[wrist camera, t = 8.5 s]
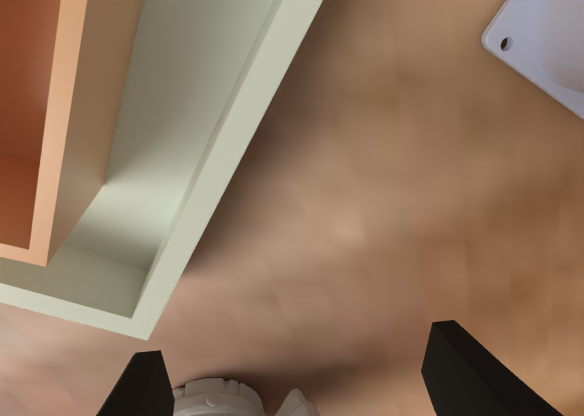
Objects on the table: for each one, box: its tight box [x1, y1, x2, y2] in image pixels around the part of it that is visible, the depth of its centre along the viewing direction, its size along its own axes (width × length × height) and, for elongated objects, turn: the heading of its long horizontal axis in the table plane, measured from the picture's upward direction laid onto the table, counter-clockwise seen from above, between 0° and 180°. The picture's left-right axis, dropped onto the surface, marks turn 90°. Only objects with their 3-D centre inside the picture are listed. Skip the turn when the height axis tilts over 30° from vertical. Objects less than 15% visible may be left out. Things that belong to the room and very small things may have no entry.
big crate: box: [0, 0, 323, 340], centre depth 13 cm, size 14×16×4 cm
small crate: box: [0, 0, 143, 267], centre depth 11 cm, size 5×8×6 cm, turn 157°
